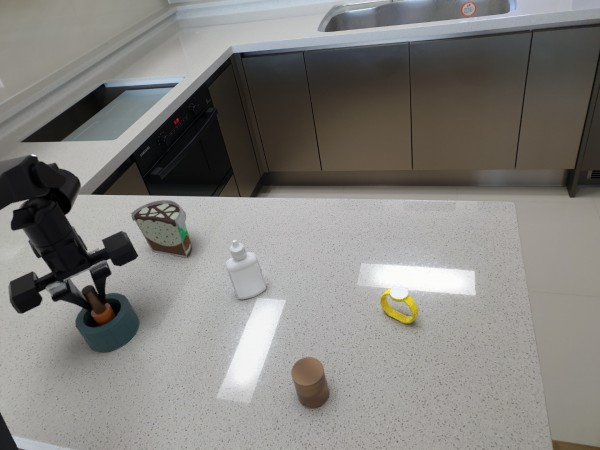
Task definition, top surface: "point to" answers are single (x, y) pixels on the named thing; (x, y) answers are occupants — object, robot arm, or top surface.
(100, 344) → the teal hollow cylinder
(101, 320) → the brown peg with discs
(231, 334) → the top surface
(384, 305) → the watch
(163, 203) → the cake slice
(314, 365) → the stand
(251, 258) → the eye dropper bottle
